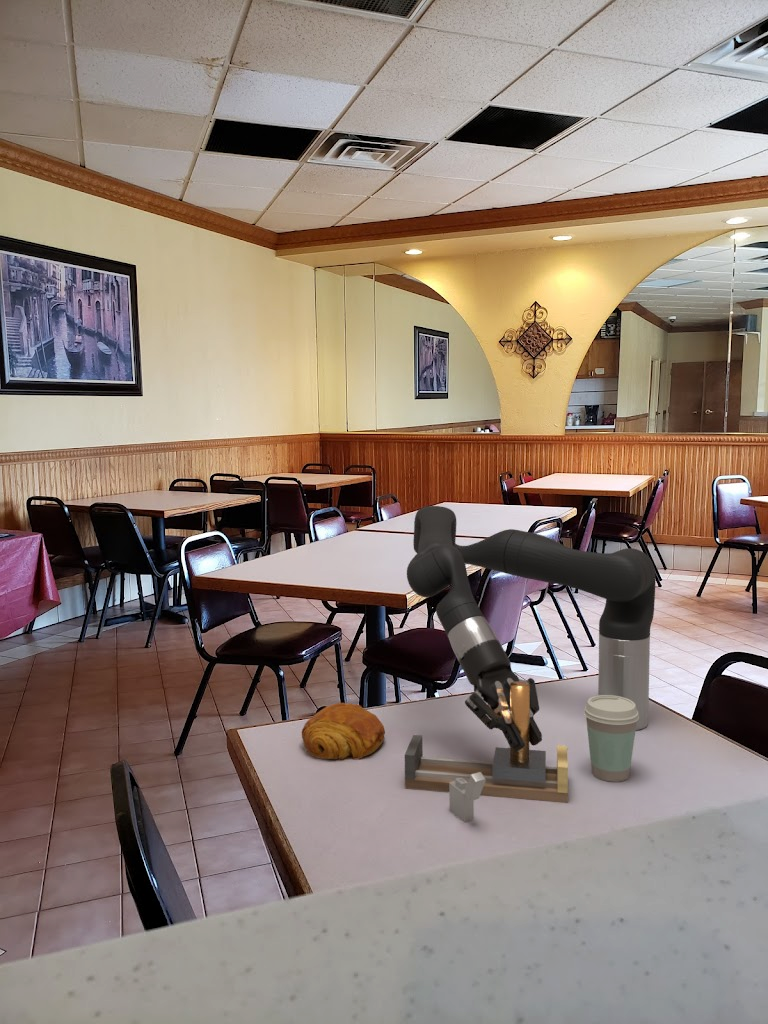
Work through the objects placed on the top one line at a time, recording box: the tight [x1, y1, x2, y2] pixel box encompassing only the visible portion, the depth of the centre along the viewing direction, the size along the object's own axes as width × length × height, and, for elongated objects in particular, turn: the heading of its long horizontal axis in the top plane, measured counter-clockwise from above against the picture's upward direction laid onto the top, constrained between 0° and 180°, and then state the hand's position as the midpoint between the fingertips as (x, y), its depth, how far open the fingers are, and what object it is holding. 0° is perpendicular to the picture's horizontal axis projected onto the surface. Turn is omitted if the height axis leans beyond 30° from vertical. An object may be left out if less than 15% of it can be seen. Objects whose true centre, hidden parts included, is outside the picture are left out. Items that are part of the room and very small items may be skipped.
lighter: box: [448, 772, 486, 823], centre depth 108 cm, size 7×2×8 cm, turn 27°
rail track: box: [404, 734, 569, 804], centre depth 119 cm, size 8×25×6 cm, turn 78°
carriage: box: [492, 681, 547, 783], centre depth 118 cm, size 7×8×14 cm
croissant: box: [301, 702, 386, 760], centre depth 135 cm, size 14×16×8 cm
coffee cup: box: [583, 695, 639, 783], centre depth 122 cm, size 8×8×12 cm
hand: (528, 745), depth 116 cm, fingers closed on carriage, 3 cm apart
